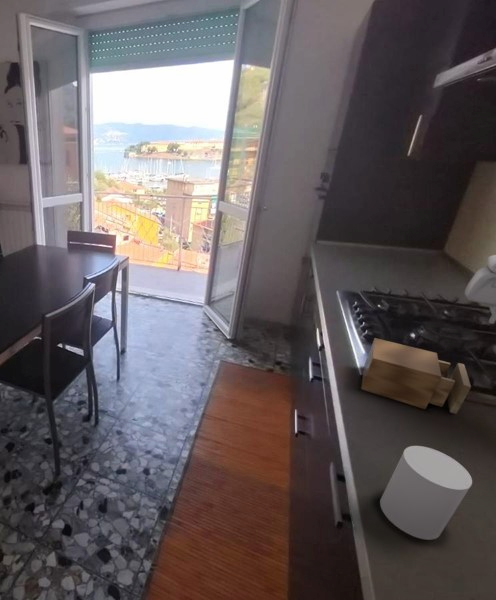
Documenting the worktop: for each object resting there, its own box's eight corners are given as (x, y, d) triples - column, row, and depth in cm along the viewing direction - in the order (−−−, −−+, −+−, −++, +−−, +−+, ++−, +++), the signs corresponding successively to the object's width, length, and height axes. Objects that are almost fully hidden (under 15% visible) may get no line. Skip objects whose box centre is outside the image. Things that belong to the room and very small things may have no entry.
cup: (454, 539, 57) (488, 489, 52) (403, 539, 58) (431, 489, 52) (414, 493, 65) (440, 445, 60) (369, 493, 65) (391, 445, 60)
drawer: (457, 391, 88) (471, 366, 85) (463, 416, 81) (478, 389, 77) (393, 373, 95) (403, 349, 92) (393, 394, 88) (404, 368, 84)
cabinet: (422, 384, 92) (436, 353, 88) (425, 409, 84) (441, 376, 80) (363, 367, 99) (374, 337, 95) (361, 389, 91) (372, 357, 87)
